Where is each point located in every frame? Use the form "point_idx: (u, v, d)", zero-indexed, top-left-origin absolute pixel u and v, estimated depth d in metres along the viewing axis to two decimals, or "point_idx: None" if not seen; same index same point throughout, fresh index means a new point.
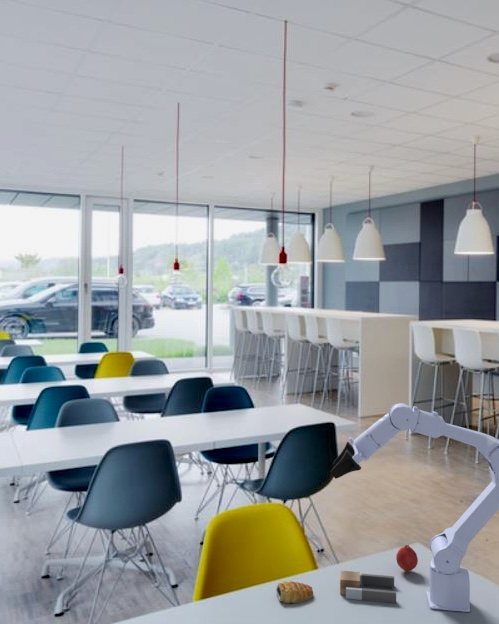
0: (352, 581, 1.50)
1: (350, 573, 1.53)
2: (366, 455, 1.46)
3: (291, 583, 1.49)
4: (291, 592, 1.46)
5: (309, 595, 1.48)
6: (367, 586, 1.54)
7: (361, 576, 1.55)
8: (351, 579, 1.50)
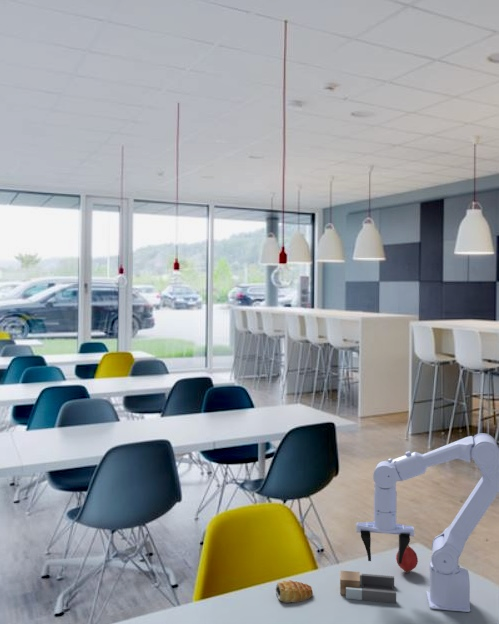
0: (353, 581, 1.50)
1: (350, 573, 1.53)
2: (376, 526, 1.49)
3: (290, 582, 1.49)
4: (290, 592, 1.46)
5: (308, 594, 1.48)
6: (367, 586, 1.54)
7: (361, 576, 1.55)
8: (351, 579, 1.50)
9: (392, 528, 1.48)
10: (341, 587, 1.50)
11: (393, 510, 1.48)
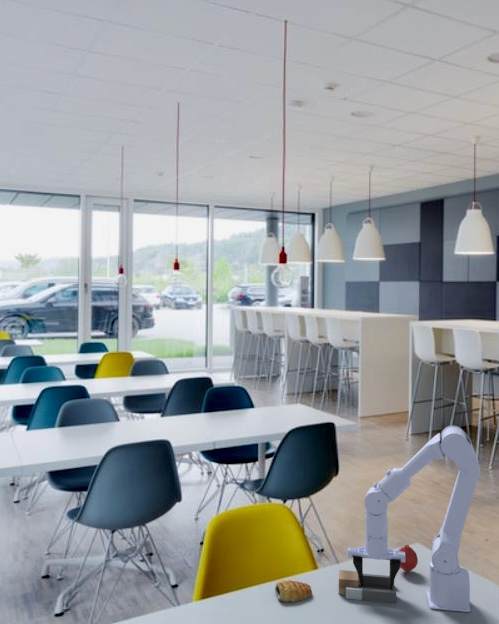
0: (351, 580, 1.50)
1: (348, 572, 1.53)
2: (367, 551, 1.50)
3: (290, 582, 1.50)
4: (290, 591, 1.47)
5: (308, 594, 1.48)
6: (367, 586, 1.54)
7: None
8: (350, 578, 1.50)
9: (383, 554, 1.48)
10: (339, 586, 1.50)
11: (384, 536, 1.48)
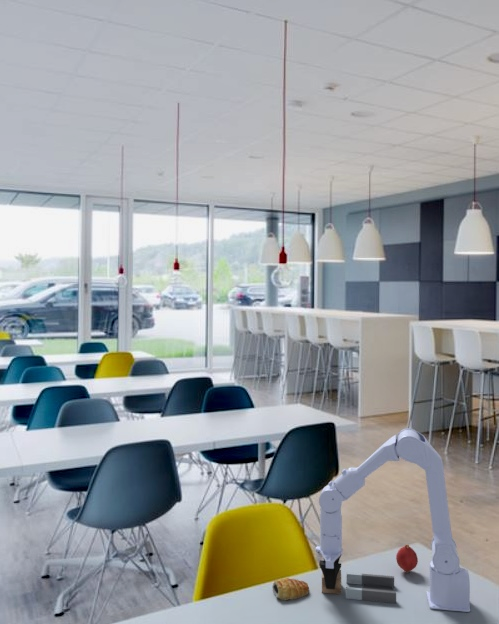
0: None
1: None
2: (336, 551, 1.50)
3: (287, 580, 1.51)
4: (288, 589, 1.48)
5: (305, 591, 1.50)
6: (367, 586, 1.54)
7: (361, 576, 1.55)
8: None
9: None
10: (323, 585, 1.51)
11: (338, 533, 1.51)
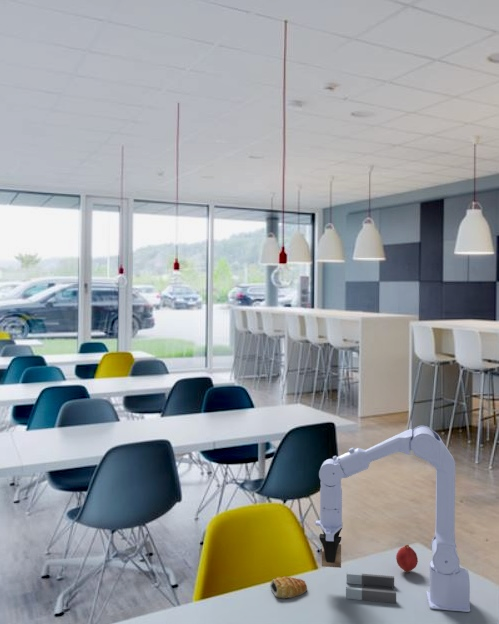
0: None
1: None
2: (336, 525, 1.50)
3: (285, 578, 1.52)
4: (286, 587, 1.49)
5: (303, 589, 1.51)
6: (367, 586, 1.54)
7: (361, 576, 1.55)
8: None
9: None
10: (322, 559, 1.51)
11: (338, 507, 1.50)
